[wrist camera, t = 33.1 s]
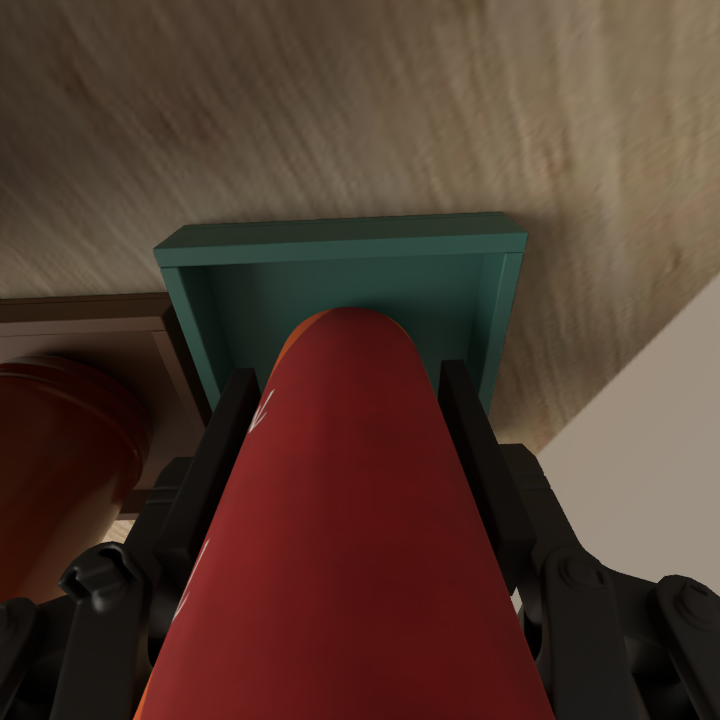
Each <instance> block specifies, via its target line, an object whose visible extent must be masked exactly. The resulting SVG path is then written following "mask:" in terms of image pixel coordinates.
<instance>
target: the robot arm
mask: <svg viewBox="0 0 720 720" xmlns="http://www.w3.org/2000/svg"><path fill="white" fill-rule="evenodd" d="M261 397H262V396H261V392H260V389H259V385H258V381H257V377H256V373H255V369H254V368H233V370H232V372H231V374H230V376H229V379H228V381H227V383H226V385H225V388H224V390H223V392H222V394H221V397H220V399H219V401H218V403H217V406H216V408H215V410H214V412H213V415H212V417H211V419H210V421H209V423H208V426H207V428H206V430H205V432H204V435H203V437H202V439H201V441H200V444H199V446H198V448H197V450H196V453H195V455H194V457H175V458H174V459H173V460H172V461H171V462H170V463H169V464H168V465H167V466H166V467H165V468H164V469H163V470H162V471H161V472H160V474H159V476H158V478H157V480H156V482H155V484H154V486H153V490H152V491H151V492H150V494H149V496H148V497H147V499H146V501H145V502H146V504H145V505H143V507H142V509H141V511H140V513H139V515H138V517H137V519H136V521H135V523H134V525H133V527H132V528H131V530H130V532H129V534H128V536H127V538H126V540H125V542H124V544H122V543H118V542H114V541H111V542H105V543H100V544H98V545H95V546H93V547H91V548H89V549H87V550H85V551H84V552H83V553H82V554H80V555H79V556H78V557H76V558H75V559H74V560H73V561H72V562H71V563H70V565H69V566H68V567H67V568H66V569H65V570H64V572H63V574H62V576H61V578H60V580H59V582H58V584H57V586H59V587H60V588H61V589H62V590H63V591H64V592H65V593H66V594H67V595H64V596H61V597H59V598H56V599H53V600H50V601H47V602H44V603H42V604H39V605H36V604H35V603H34V602H33V601H31V600H30V599H29V598H22V597H16V598H13V599H10V600H6V601H3V602H2V603H0V720H133V719H134V716H135V714H136V711H137V709H138V706H139V704H140V701H141V698H142V696H143V693H144V691H145V688H146V686H147V683H148V681H149V678H150V676H151V673H152V671H153V668H154V666H155V663H156V661H157V658H158V656H159V653H160V651H161V648H162V646H163V643H164V641H165V638H166V636H167V633H168V631H169V628H170V626H171V623H172V620H173V618H174V615H175V613H176V610H177V608H178V605H179V603H180V600H181V598H182V595H183V593H184V590H185V588H186V585H187V583H188V580H189V578H190V575H191V573H192V570H193V568H194V565H195V563H196V560H197V557H198V555H199V552H200V550H201V547H202V545H203V542H204V540H205V537H206V535H207V532H208V530H209V527H210V525H211V522H212V520H213V517H214V515H215V512H216V510H217V507H218V505H219V502H220V500H221V497H222V494H223V492H224V489H225V487H226V484H227V482H228V479H229V477H230V474H231V472H232V469H233V467H234V464H235V462H236V459H237V457H238V454H239V452H240V449H241V447H242V444H243V442H244V439H245V437H246V434H247V432H248V430H249V427H250V425H251V422H252V420H253V417H254V415H255V412H256V410H257V407H258V405H259V402H260V400H261ZM437 402H438V404H439V407H440V409H441V412H442V415H443V417H444V420H445V423H446V425H447V428H448V431H449V434H450V436H451V439H452V442H453V444H454V447H455V450H456V452H457V455H458V458H459V460H460V463H461V466H462V468H463V471H464V474H465V476H466V479H467V482H468V484H469V487H470V490H471V492H472V495H473V498H474V501H475V503H476V506H477V509H478V511H479V514H480V517H481V520H482V522H483V525H484V528H485V530H486V533H487V536H488V538H489V541H490V544H491V547H492V549H493V552H494V555H495V557H496V560H497V563H498V565H499V568H500V571H501V574H502V576H503V579H504V582H505V584H506V587H507V590H508V593H509V595H510V596H512V595H513V593H514V591H515V588H516V586H517V589H518V592H519V595H520V598H521V601H522V606H521V608H520V610H519V612H518V614H517V617H518V620H519V622H520V625H521V628H522V630H523V633H524V636H525V638H526V641H527V644H528V647H529V649H530V652H531V655H532V657H533V660H534V663H535V665H536V668H537V671H538V674H539V676H540V679H541V682H542V684H543V687H544V690H545V692H546V695H547V698H548V701H549V703H550V706H551V709H552V711H553V714H554V717H555V719H556V720H720V597H719V596H718V595H716V594H715V593H714V592H713V591H712V590H710V589H709V588H708V587H707V586H705V585H703V584H701V583H699V582H697V581H696V580H693V579H692V578H689V577H685V576H680V575H669V576H665V577H663V578H662V579H661V580H660V581H659V582H658V583H654V582H650V581H647V580H644V579H640V578H637V577H633V576H630V575H626V574H623V573H619V572H616V571H614V570H612V569H609V568H608V567H606V566H604V565H602V564H601V563H600V562H599V560H598V559H596V558H595V557H593V556H592V555H591V554H590V553H588V552H587V551H586V550H585V549H584V548H583V547H582V545H581V544H580V542H579V541H578V539H577V537H576V535H575V533H574V531H573V529H572V527H571V525H570V523H569V522H568V519H567V518H566V516H565V514H564V512H563V510H562V508H561V506H560V504H559V502H558V500H557V498H556V496H555V494H554V492H553V490H552V489H551V488H550V484H549V482H548V480H547V478H546V476H544V472H543V470H542V468H541V466H540V465H539V462H538V460H537V458H536V457H535V456H534V455H533V454H532V453H531V452H530V451H529V450H528V449H527V448H526V447H525V446H524V445H523V444H522V443H521V444H498V442H497V440H496V437H495V435H494V433H493V430H492V428H491V425H490V423H489V421H488V418H487V416H486V413H485V411H484V409H483V406H482V404H481V401H480V399H479V397H478V394H477V392H476V389H475V387H474V385H473V382H472V380H471V378H470V375H469V373H468V370H467V368H466V366H465V363H464V361H463V359H457V360H442V361H441V370H440V379H439V388H438V397H437Z"/></svg>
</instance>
